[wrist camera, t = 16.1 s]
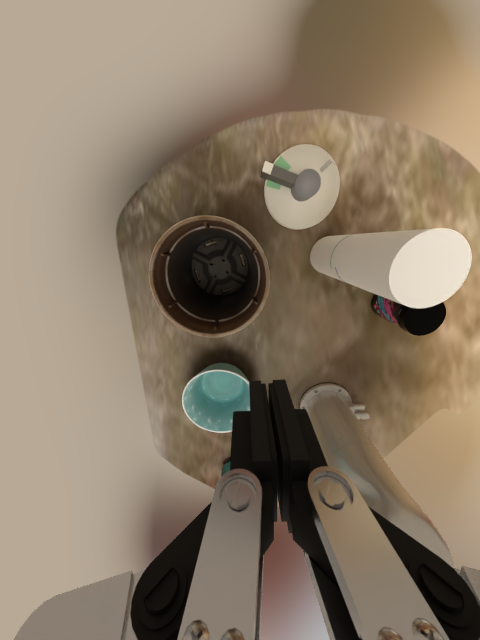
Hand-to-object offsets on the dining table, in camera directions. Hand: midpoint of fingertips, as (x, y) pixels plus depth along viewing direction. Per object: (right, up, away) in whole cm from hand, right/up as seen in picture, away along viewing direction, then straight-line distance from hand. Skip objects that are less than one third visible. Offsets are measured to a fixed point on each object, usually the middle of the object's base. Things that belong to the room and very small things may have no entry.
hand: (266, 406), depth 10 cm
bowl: (-5, -10, +43) cm, 45 cm away
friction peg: (+7, +28, +28) cm, 40 cm away
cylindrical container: (+16, +17, +33) cm, 41 cm away
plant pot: (-5, +15, +35) cm, 38 cm away
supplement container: (+30, +8, +36) cm, 48 cm away
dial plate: (+10, +27, +30) cm, 41 cm away
